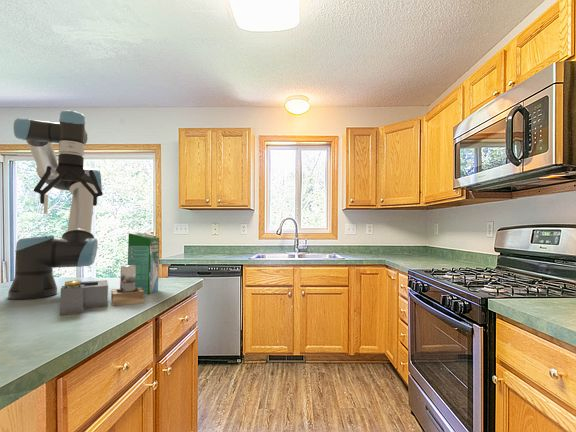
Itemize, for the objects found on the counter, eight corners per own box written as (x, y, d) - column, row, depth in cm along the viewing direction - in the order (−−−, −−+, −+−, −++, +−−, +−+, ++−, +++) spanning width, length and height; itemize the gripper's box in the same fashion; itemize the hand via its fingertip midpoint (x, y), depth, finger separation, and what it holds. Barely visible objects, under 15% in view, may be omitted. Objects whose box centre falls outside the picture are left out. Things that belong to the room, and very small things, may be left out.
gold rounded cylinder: (64, 302, 104) (65, 281, 104) (80, 300, 106) (81, 280, 107) (63, 305, 100) (64, 283, 101) (80, 303, 103) (80, 282, 103)
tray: (111, 300, 120) (111, 289, 120) (140, 297, 125) (140, 287, 125) (112, 305, 111) (112, 294, 111) (143, 302, 116) (144, 291, 117)
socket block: (64, 302, 115) (65, 280, 116) (106, 298, 122) (107, 277, 122) (59, 315, 99) (60, 289, 99) (108, 310, 106) (108, 285, 106)
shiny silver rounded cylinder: (119, 297, 119) (120, 265, 120) (134, 296, 122) (135, 264, 122) (120, 300, 115) (121, 266, 115) (135, 299, 117) (136, 266, 118)
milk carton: (148, 294, 130) (150, 232, 131) (126, 294, 130) (128, 232, 131) (158, 290, 139) (159, 232, 140) (137, 290, 139) (138, 232, 140)
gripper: (24, 148, 106) (22, 212, 105) (111, 157, 119) (109, 214, 118) (29, 152, 112) (26, 213, 111) (110, 160, 125) (108, 215, 124)
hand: (69, 214), depth 115 cm, fingers open, 13 cm apart
